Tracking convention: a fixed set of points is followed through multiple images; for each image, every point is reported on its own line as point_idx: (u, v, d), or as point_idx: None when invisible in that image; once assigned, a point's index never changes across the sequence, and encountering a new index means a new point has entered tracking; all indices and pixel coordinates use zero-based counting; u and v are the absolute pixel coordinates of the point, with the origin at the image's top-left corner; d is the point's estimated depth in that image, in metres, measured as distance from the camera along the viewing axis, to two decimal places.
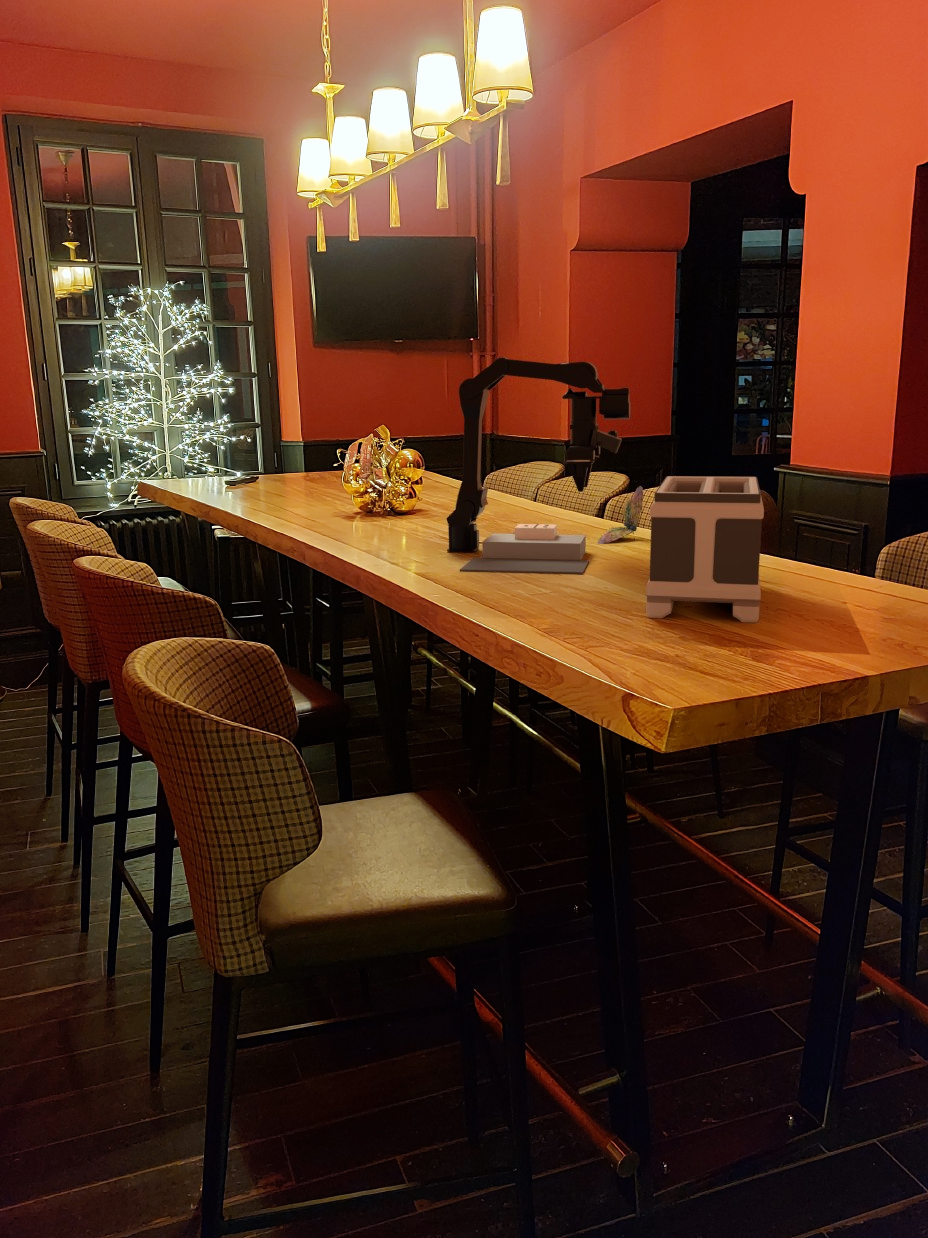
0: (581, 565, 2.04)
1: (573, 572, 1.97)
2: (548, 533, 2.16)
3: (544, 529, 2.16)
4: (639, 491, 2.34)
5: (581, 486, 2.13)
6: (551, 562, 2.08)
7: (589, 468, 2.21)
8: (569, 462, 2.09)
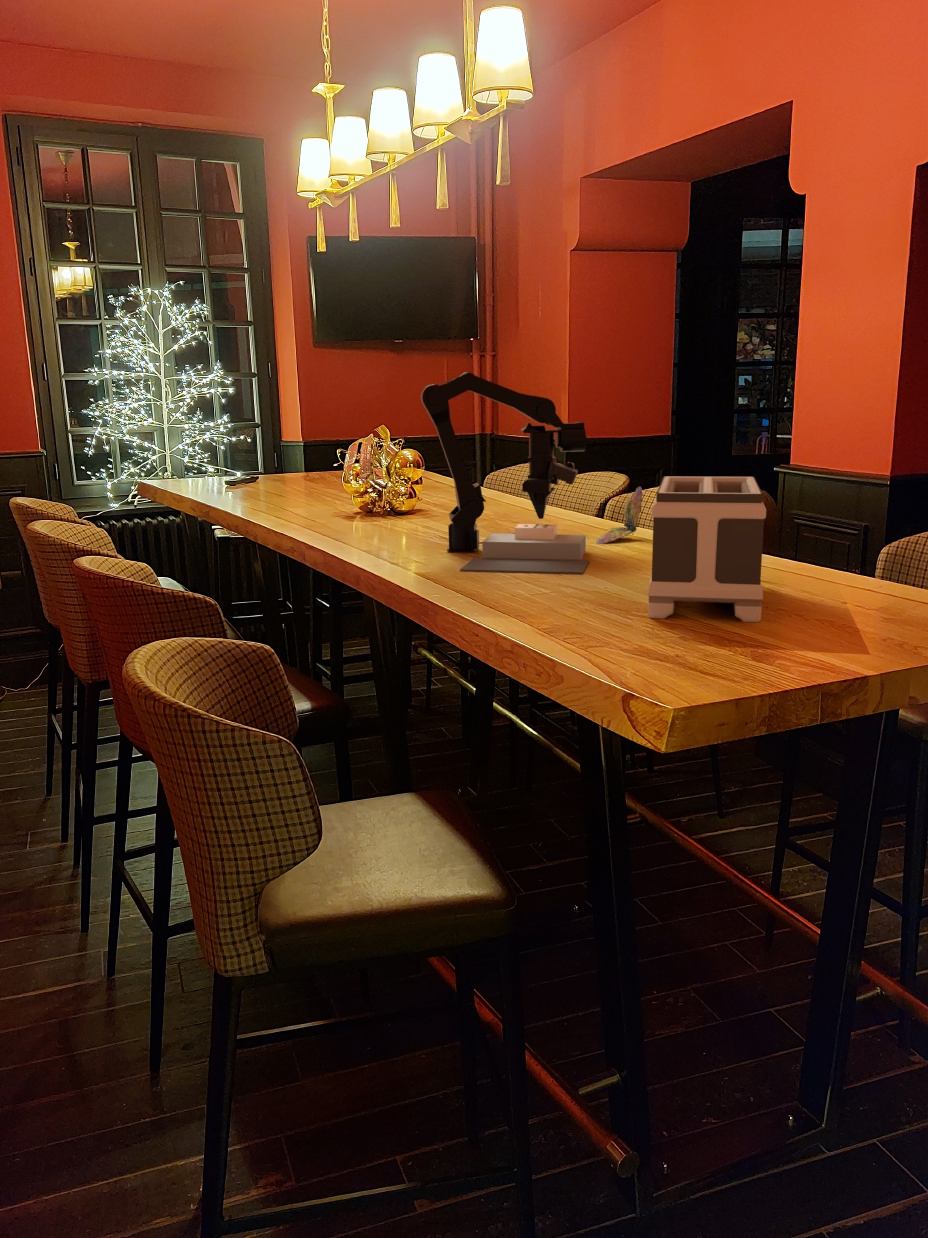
0: (581, 565, 2.04)
1: (573, 572, 1.97)
2: (548, 533, 2.16)
3: (544, 529, 2.16)
4: (638, 491, 2.33)
5: (541, 514, 2.27)
6: (551, 562, 2.08)
7: (545, 500, 2.27)
8: (529, 491, 2.23)
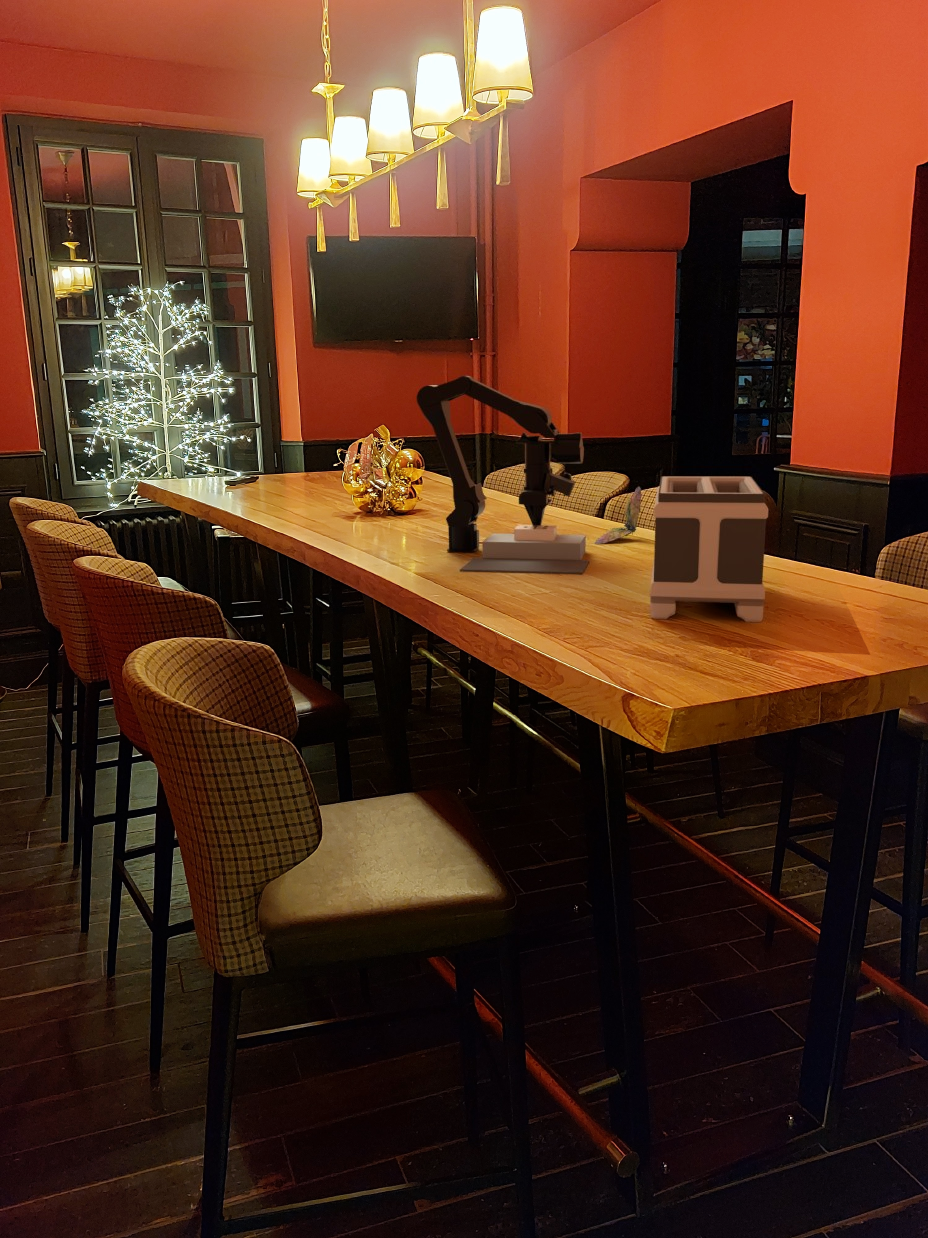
0: (581, 565, 2.04)
1: (573, 572, 1.97)
2: (548, 534, 2.14)
3: (544, 530, 2.14)
4: (638, 492, 2.32)
5: None
6: (551, 562, 2.08)
7: None
8: None
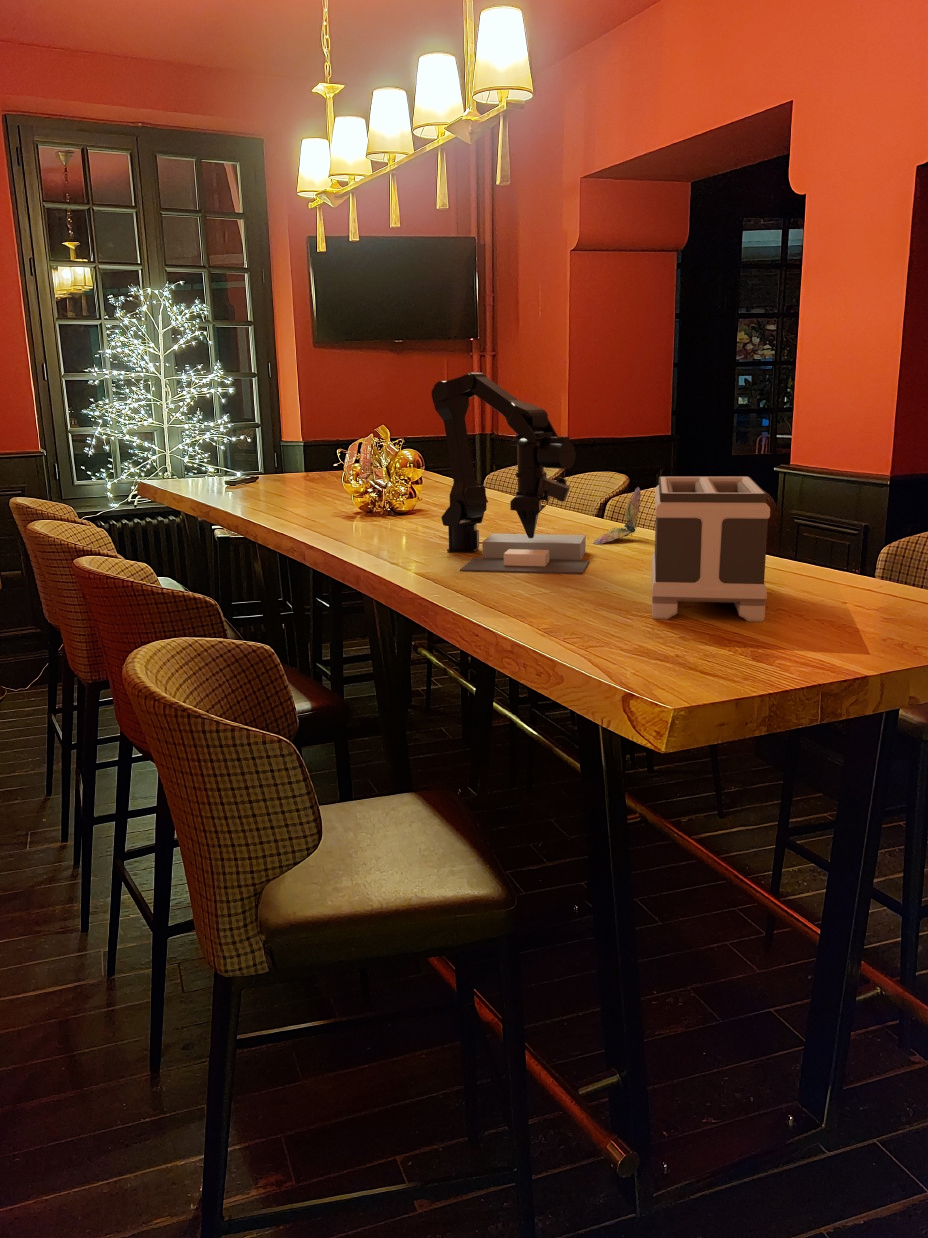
0: (581, 565, 2.04)
1: (573, 572, 1.97)
2: None
3: None
4: (637, 492, 2.32)
5: (530, 533, 2.11)
6: (551, 562, 2.08)
7: (535, 518, 2.11)
8: None
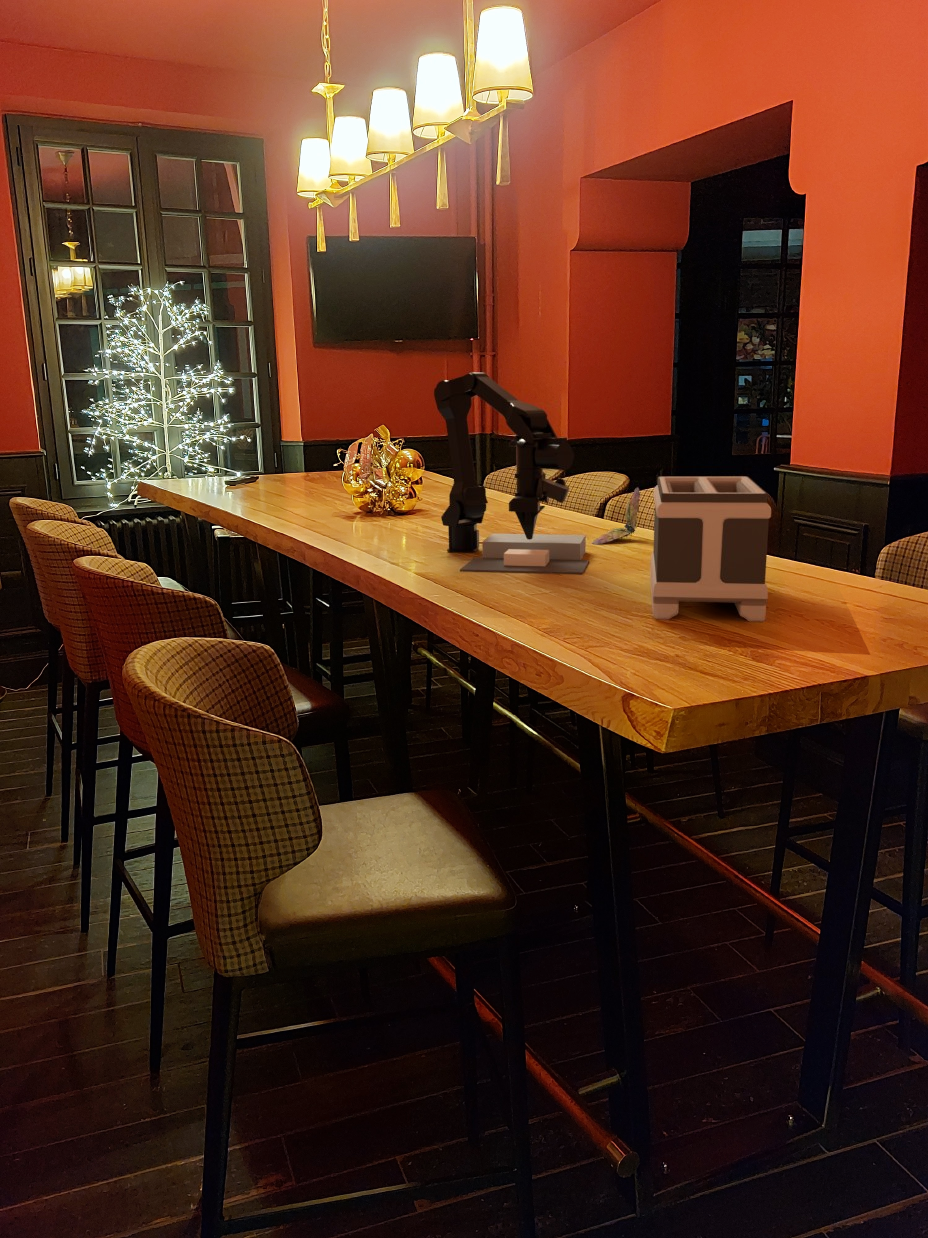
0: (581, 565, 2.04)
1: (573, 572, 1.97)
2: None
3: None
4: (636, 492, 2.31)
5: (529, 534, 2.10)
6: (551, 562, 2.08)
7: (534, 519, 2.10)
8: None
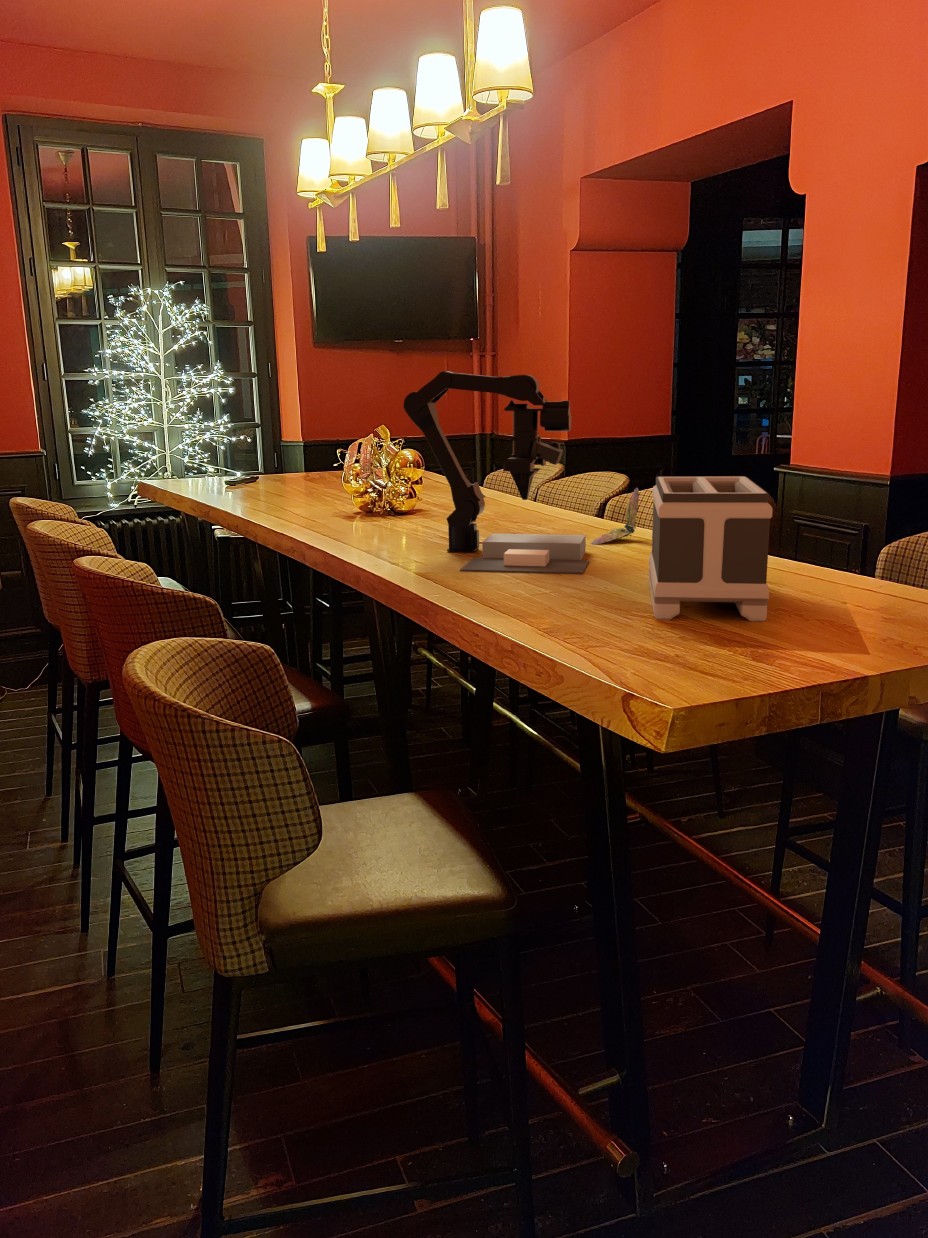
0: (581, 565, 2.04)
1: (573, 572, 1.97)
2: None
3: None
4: (636, 493, 2.31)
5: (524, 495, 2.21)
6: (551, 562, 2.08)
7: (529, 481, 2.21)
8: (512, 471, 2.17)
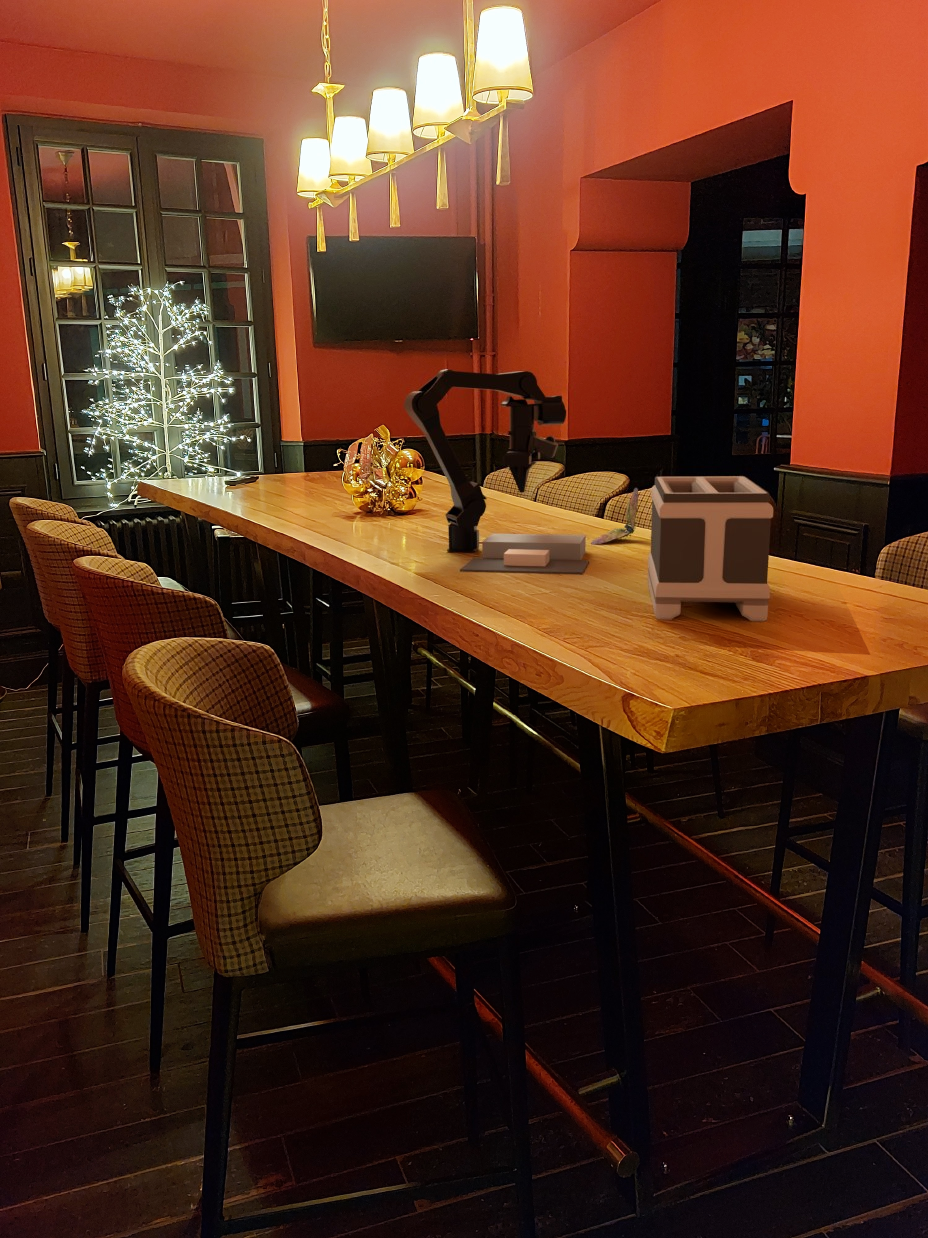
0: (581, 565, 2.04)
1: (573, 572, 1.97)
2: None
3: None
4: (635, 493, 2.31)
5: (522, 487, 2.28)
6: (551, 562, 2.08)
7: None
8: (510, 465, 2.25)
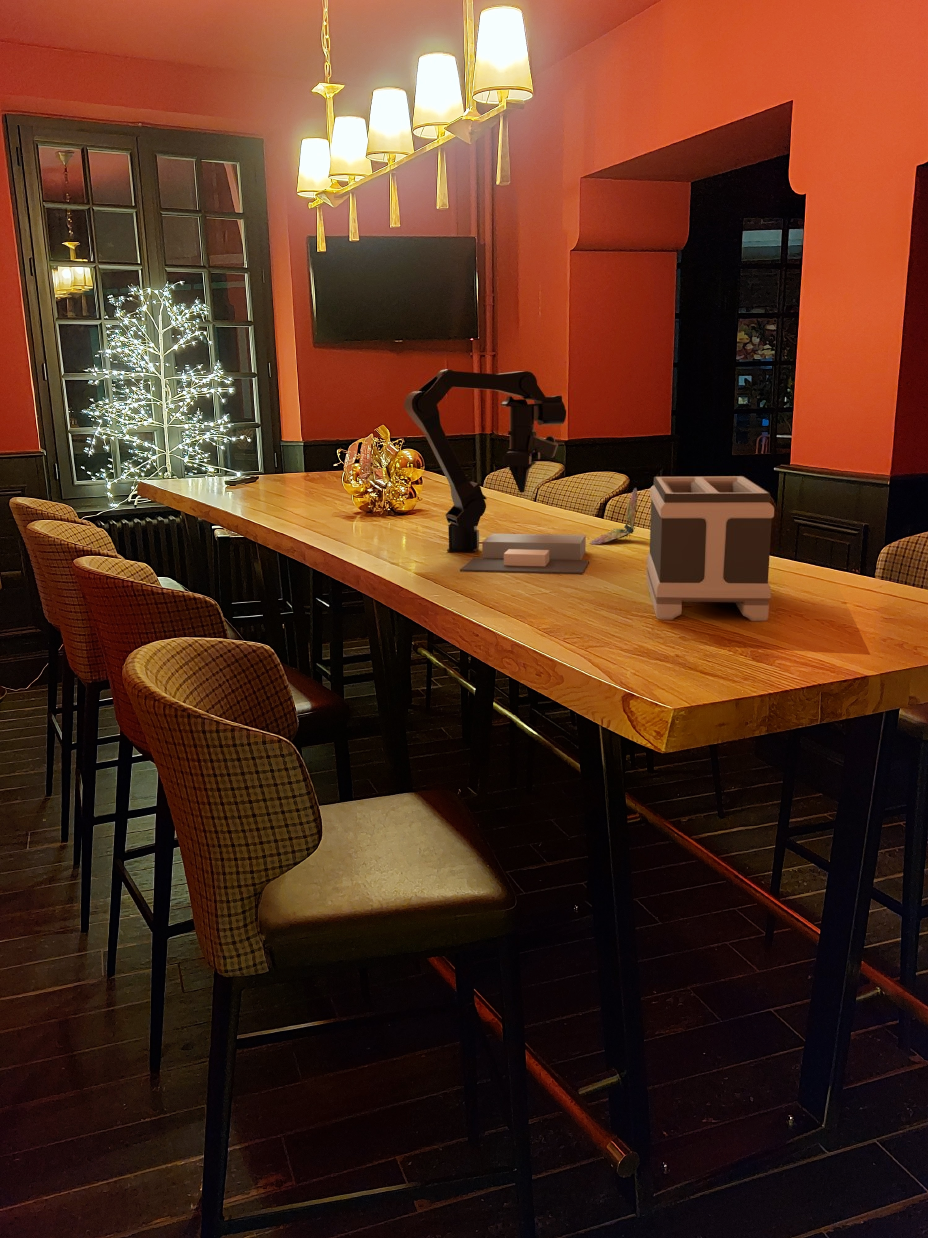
0: (581, 565, 2.04)
1: (573, 572, 1.97)
2: None
3: None
4: (635, 493, 2.30)
5: (522, 488, 2.28)
6: (551, 562, 2.08)
7: None
8: (510, 465, 2.25)
